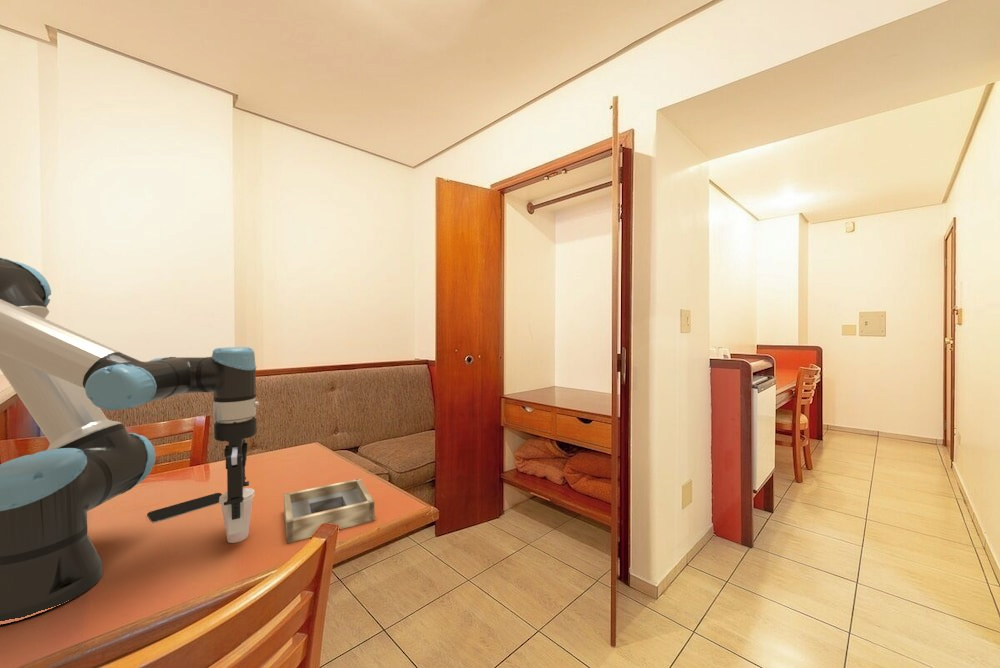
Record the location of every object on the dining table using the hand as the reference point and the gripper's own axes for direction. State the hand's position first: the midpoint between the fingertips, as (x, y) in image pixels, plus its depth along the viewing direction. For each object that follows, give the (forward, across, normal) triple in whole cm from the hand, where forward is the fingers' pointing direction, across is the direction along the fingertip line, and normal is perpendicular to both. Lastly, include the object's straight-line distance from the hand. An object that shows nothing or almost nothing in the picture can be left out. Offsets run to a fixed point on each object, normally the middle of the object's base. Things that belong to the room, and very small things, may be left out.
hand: (237, 524), depth 82 cm
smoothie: (+3, 0, 0) cm, 3 cm away
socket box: (+3, 0, -18) cm, 18 cm away
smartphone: (+4, +24, +12) cm, 27 cm away
